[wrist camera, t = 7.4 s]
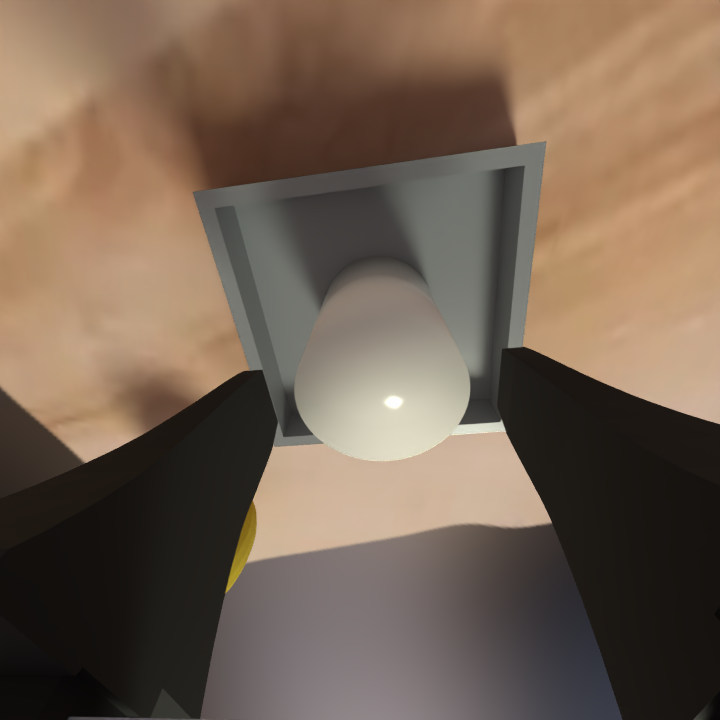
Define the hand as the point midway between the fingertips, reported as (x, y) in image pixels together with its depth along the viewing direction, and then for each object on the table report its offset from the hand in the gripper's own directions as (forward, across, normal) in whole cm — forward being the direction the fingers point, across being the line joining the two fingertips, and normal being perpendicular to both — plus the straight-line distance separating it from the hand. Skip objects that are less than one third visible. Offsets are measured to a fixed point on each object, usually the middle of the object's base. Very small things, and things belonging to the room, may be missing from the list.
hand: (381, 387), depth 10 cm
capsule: (+6, 0, 0) cm, 6 cm away
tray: (+7, 0, 0) cm, 7 cm away
